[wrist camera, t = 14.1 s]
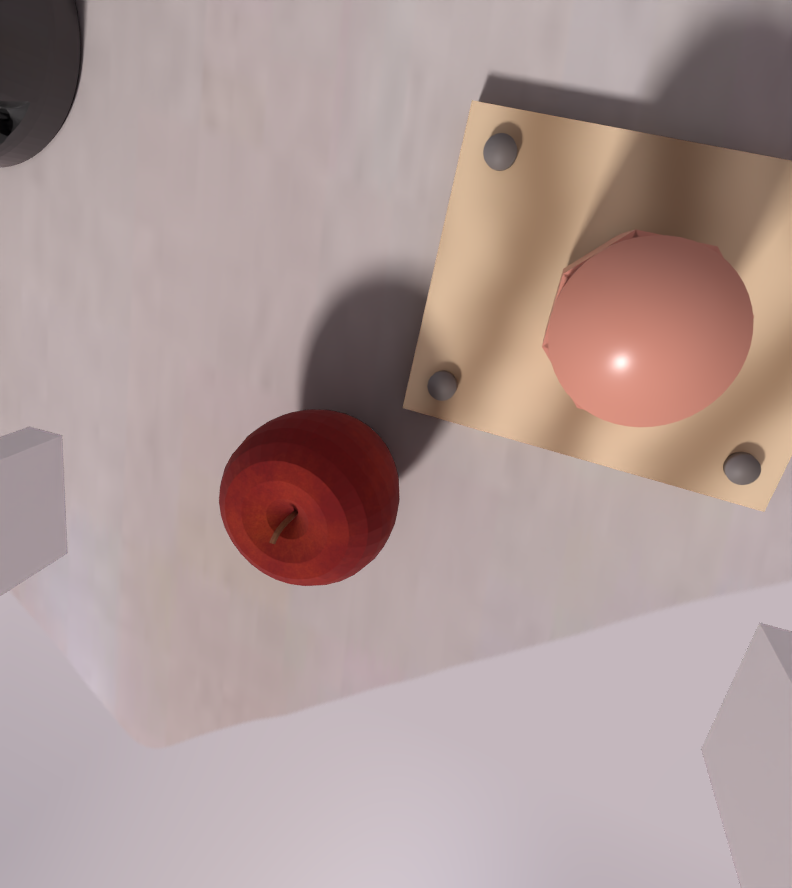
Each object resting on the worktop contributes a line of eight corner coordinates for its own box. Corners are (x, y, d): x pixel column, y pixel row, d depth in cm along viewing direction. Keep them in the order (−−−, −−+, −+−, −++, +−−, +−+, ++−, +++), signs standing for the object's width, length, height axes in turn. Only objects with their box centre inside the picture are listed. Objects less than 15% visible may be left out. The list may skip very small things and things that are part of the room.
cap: (727, 256, 27) (788, 259, 20) (672, 399, 30) (708, 448, 23) (575, 225, 29) (580, 216, 21) (535, 364, 31) (526, 400, 24)
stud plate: (408, 401, 36) (370, 439, 29) (476, 107, 30) (449, 62, 23) (755, 500, 32) (810, 571, 25) (905, 188, 27) (1030, 166, 20)
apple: (293, 370, 37) (205, 409, 28) (438, 417, 36) (395, 475, 27) (268, 500, 41) (182, 573, 32) (399, 549, 39) (348, 641, 30)
